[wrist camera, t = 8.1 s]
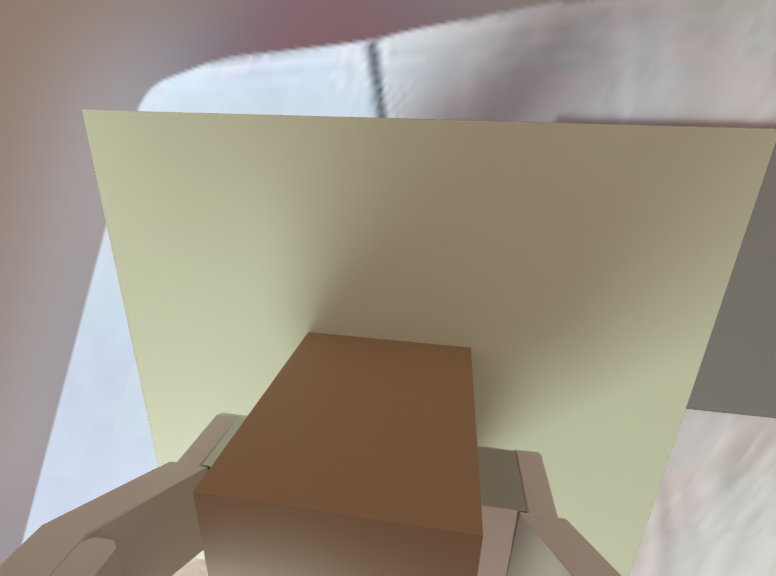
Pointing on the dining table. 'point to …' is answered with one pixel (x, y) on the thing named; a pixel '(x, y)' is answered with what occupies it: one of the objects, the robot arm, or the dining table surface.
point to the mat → (745, 322)
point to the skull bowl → (193, 568)
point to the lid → (417, 318)
